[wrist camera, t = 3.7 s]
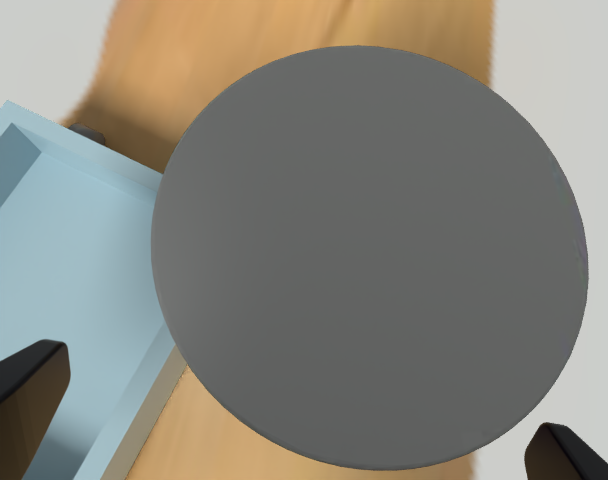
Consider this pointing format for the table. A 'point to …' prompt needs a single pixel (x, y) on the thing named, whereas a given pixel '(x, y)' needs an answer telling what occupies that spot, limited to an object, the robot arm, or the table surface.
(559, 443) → the robot arm
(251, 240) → the container
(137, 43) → the table surface
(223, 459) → the table surface
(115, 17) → the table surface
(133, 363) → the cart
